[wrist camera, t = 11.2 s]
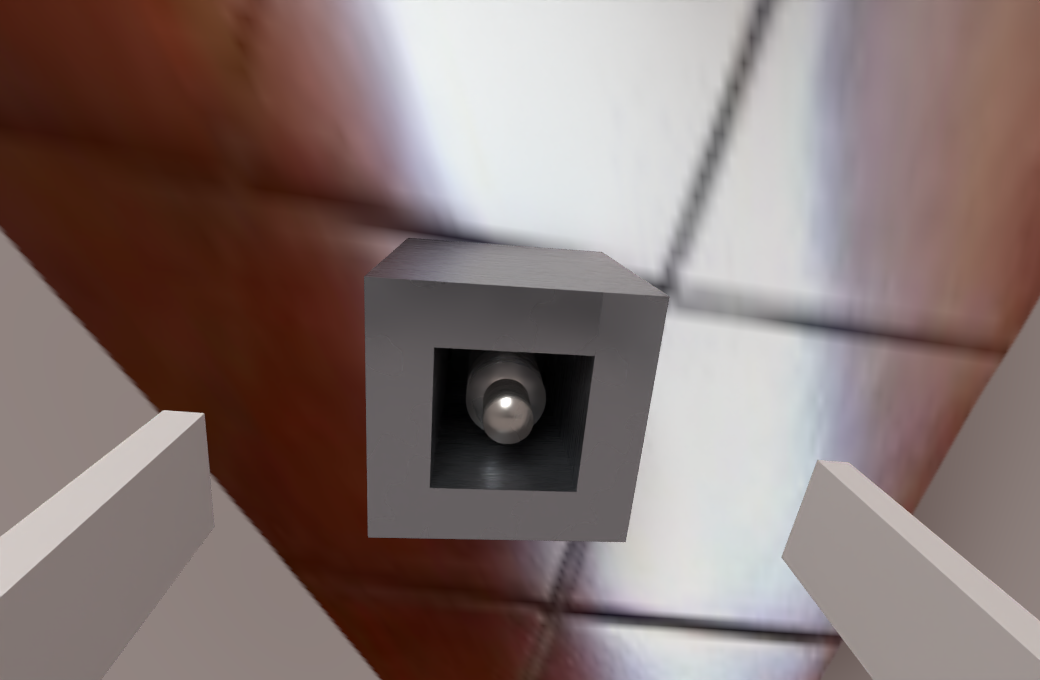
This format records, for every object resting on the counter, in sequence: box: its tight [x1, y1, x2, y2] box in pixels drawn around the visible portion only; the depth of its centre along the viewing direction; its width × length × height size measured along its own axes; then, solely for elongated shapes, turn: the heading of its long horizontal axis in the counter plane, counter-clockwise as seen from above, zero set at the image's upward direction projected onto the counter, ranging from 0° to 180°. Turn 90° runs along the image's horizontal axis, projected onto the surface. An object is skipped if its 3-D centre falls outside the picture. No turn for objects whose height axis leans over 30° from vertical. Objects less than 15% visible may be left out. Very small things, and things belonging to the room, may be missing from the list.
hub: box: [448, 348, 549, 444], centre depth 19 cm, size 7×7×8 cm
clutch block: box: [364, 238, 669, 542], centre depth 18 cm, size 8×8×8 cm
